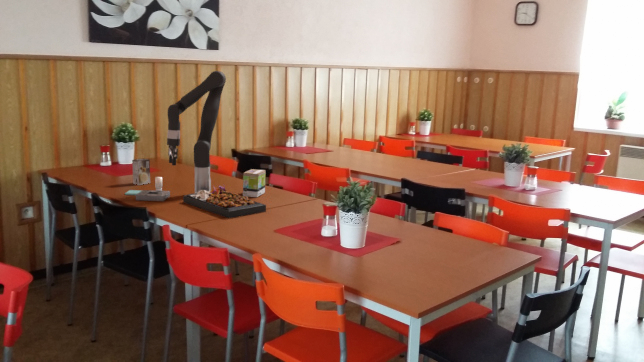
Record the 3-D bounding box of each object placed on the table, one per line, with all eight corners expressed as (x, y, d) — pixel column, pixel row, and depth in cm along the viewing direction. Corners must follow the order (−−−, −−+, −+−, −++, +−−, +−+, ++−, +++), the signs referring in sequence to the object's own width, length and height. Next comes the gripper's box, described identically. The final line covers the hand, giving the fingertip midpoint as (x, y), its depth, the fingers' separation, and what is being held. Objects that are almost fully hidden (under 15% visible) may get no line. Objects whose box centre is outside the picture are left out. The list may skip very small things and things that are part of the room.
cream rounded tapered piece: (163, 193, 350) (163, 176, 348) (161, 194, 345) (161, 178, 343) (156, 192, 350) (156, 176, 348) (154, 194, 345) (154, 178, 343)
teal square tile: (144, 192, 350) (144, 190, 350) (140, 195, 341) (139, 193, 341) (129, 191, 350) (129, 190, 350) (124, 194, 341) (124, 193, 341)
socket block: (170, 195, 343) (169, 190, 342) (163, 201, 329) (163, 196, 328) (143, 194, 343) (143, 190, 342) (135, 200, 329) (135, 195, 328)
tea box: (258, 197, 346) (258, 173, 343) (242, 196, 348) (242, 172, 345) (265, 192, 361) (265, 169, 358) (250, 191, 363) (250, 168, 360)
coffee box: (144, 182, 379) (144, 158, 376) (150, 183, 376) (150, 159, 373) (132, 184, 372) (132, 159, 369) (138, 185, 368) (138, 160, 365)
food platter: (183, 203, 328) (183, 185, 326) (219, 197, 345) (219, 180, 343) (228, 219, 297) (228, 200, 295) (265, 212, 314) (266, 194, 312)
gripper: (182, 139, 338) (181, 166, 341) (177, 136, 351) (175, 162, 354) (169, 138, 335) (168, 166, 338) (164, 135, 347) (163, 162, 350)
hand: (172, 164), depth 346 cm, fingers open, 8 cm apart
